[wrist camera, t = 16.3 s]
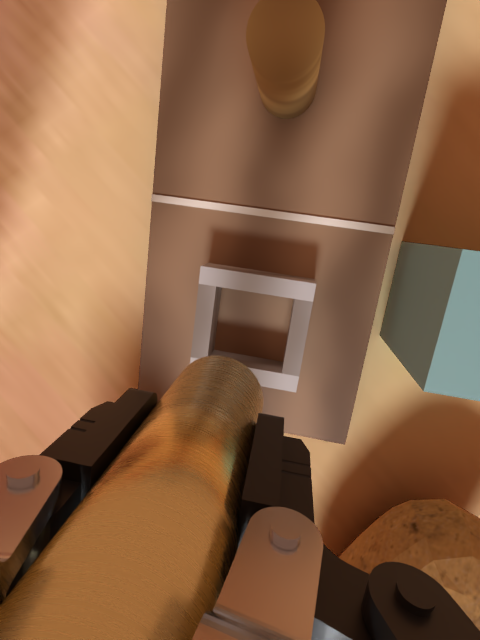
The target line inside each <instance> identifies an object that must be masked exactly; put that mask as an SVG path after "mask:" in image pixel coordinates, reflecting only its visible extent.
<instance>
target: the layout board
mask: <svg viewBox="0 0 480 640" xmlns="http://www.w3.org/2000/svg"><path fill="white" fill-rule="evenodd" d="M446 2H447V0H167V8H166V22H165V35H164V48H163V62H162V75H161V89H160V102H159V116H158V129H157V143H156V156H155V169H154V183H153V194H152V210H151V223H150V237H149V250H148V263H147V277H146V290H145V304H144V317H143V331H142V344H141V358H140V371H139V384H138V390H144V391H149V392H154V393H156V394H157V398H158V401H157V403H158V402H159V401H160V399H161V398H162V397H163V395H164V394H165V393H166V392H167V390H168V389H169V388H170V386H171V385H172V384H173V383H174V381H175V380H176V379H177V377H178V376H179V375H180V374H181V372H182V371H183V370H184V369H185V368H186V367H187V366H188V365H189V364H190V363H192V362H193V361H195V360H197V359H200V358H202V357H206V356H225V357H229V358H232V359H235V360H237V361H239V362H241V363H242V364H244V365H245V366H247V367H248V368H249V369H250V370H251V371H252V372H253V374H254V375H255V376H256V378H257V379H258V381H259V383H260V385H261V388H262V392H263V409H262V413H263V414H268V415H274V416H279V417H284V433H288V434H293V435H298V436H304V437H309V438H314V439H319V440H324V441H329V442H334V443H339V444H345V442H346V438H347V433H348V429H349V425H350V420H351V416H352V412H353V407H354V403H355V399H356V394H357V390H358V386H359V381H360V377H361V372H362V368H363V364H364V359H365V355H366V351H367V346H368V342H369V338H370V333H371V329H372V325H373V320H374V316H375V312H376V307H377V303H378V298H379V294H380V290H381V285H382V281H383V277H384V272H385V268H386V264H387V259H388V255H389V251H390V246H391V242H392V238H393V234H394V231H395V224H396V220H397V216H398V211H399V207H400V203H401V198H402V194H403V190H404V185H405V181H406V177H407V172H408V168H409V164H410V159H411V155H412V150H413V146H414V142H415V137H416V133H417V129H418V124H419V120H420V116H421V111H422V107H423V103H424V98H425V94H426V89H427V85H428V81H429V76H430V72H431V68H432V63H433V59H434V55H435V50H436V46H437V42H438V37H439V33H440V29H441V24H442V20H443V15H444V11H445V7H446Z"/></svg>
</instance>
